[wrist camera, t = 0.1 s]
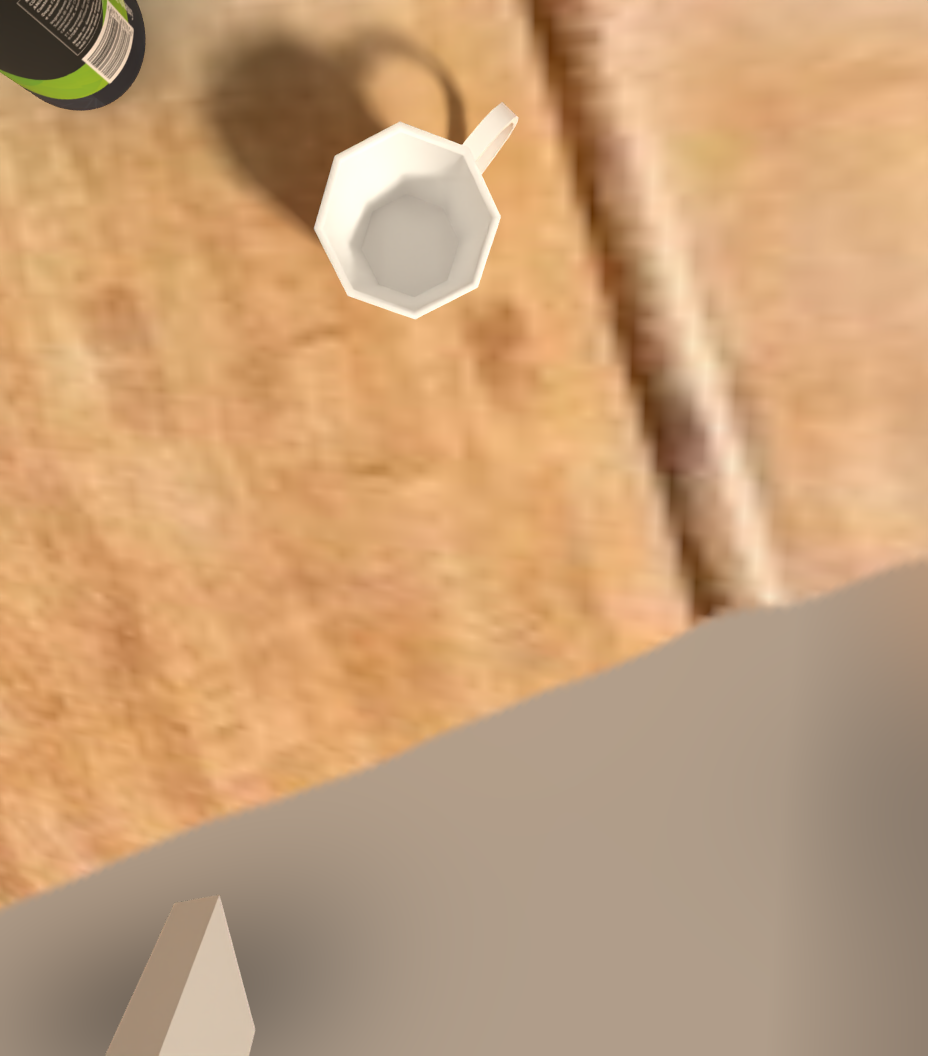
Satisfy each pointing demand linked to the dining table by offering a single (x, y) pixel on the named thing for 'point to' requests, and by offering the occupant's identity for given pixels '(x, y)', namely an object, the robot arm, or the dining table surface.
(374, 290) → the cup
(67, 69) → the beverage can
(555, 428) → the dining table surface
